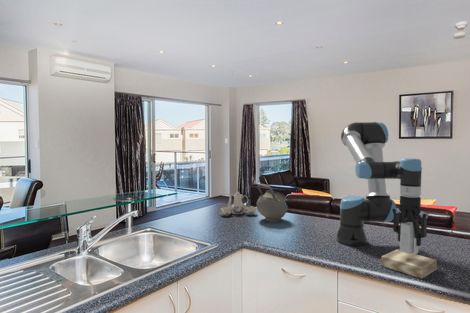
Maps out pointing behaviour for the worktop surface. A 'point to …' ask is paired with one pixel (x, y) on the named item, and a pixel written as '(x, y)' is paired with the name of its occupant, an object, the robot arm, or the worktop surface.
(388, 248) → the worktop surface
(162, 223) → the worktop surface
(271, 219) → the pot
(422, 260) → the base block
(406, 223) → the skincare box
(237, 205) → the chinaware
